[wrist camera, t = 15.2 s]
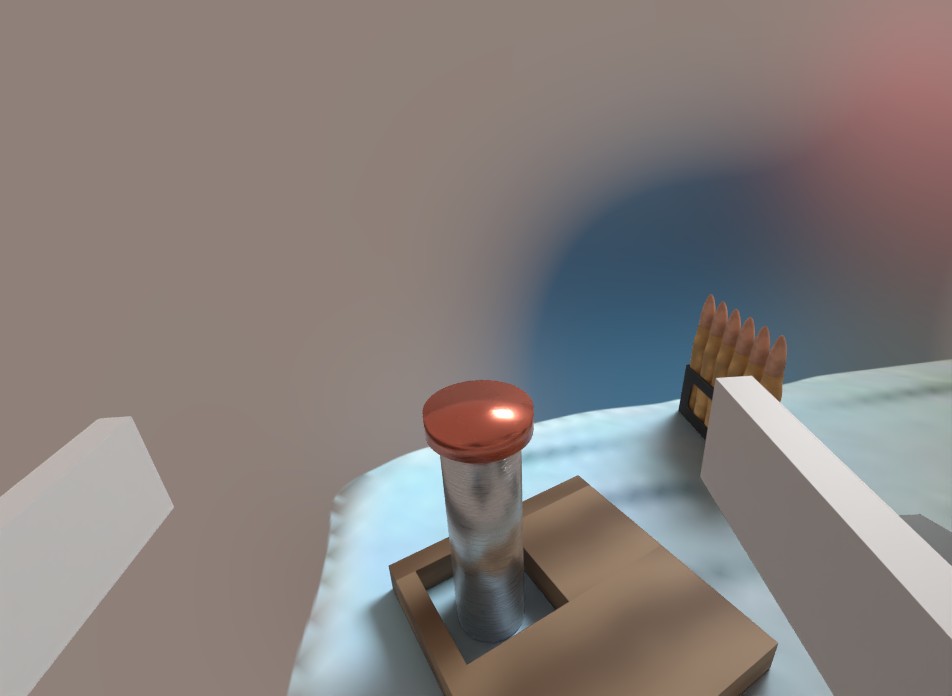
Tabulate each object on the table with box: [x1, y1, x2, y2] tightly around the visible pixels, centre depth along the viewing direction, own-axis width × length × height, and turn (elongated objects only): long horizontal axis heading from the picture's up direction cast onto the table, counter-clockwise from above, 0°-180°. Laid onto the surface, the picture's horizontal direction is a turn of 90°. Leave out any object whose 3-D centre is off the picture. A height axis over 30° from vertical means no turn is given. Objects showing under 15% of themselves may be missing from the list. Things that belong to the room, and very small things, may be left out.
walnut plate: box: [389, 476, 778, 696], centre depth 27 cm, size 15×15×2 cm
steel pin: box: [423, 380, 534, 642], centre depth 26 cm, size 5×5×14 cm
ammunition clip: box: [679, 295, 787, 440], centre depth 39 cm, size 11×2×12 cm, turn 6°
